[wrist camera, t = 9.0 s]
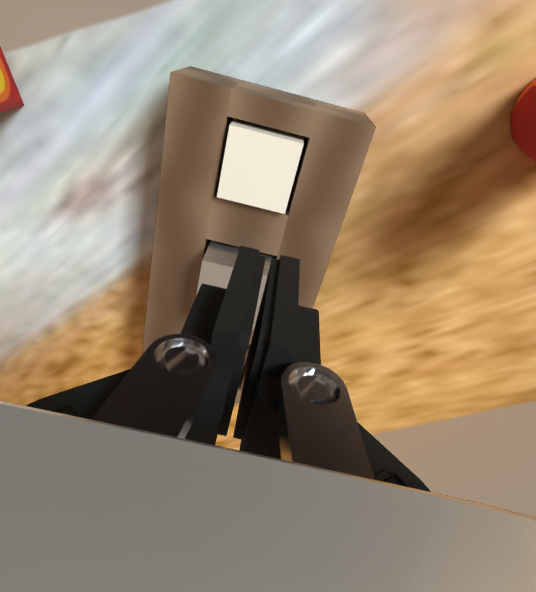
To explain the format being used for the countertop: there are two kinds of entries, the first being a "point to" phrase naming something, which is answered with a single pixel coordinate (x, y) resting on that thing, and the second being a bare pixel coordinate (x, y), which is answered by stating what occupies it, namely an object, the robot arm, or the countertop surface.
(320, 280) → the key panel
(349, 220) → the countertop surface
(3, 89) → the baking soda box
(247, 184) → the ivory key
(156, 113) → the countertop surface
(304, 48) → the countertop surface
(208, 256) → the grey cube
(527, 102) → the paper cup
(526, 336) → the countertop surface
